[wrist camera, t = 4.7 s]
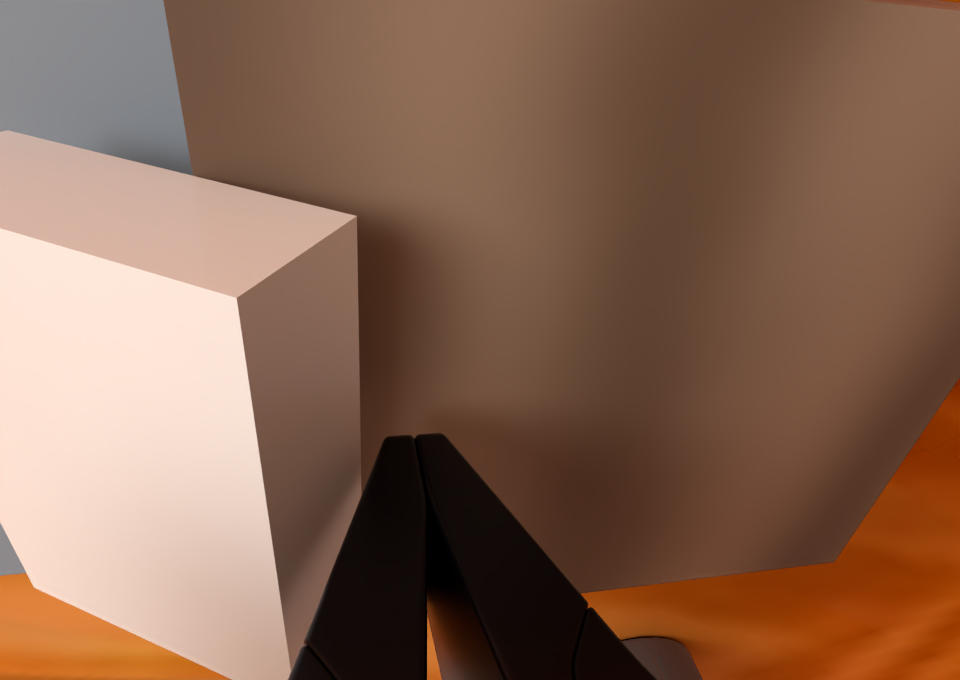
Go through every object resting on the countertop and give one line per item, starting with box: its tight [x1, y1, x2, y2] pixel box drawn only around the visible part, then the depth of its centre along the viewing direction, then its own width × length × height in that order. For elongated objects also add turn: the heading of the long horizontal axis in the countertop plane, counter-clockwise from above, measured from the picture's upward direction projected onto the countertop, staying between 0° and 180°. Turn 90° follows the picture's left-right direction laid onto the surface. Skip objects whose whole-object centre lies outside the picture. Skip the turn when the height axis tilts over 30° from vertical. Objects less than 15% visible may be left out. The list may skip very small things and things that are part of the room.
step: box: [163, 0, 960, 593], centre depth 12 cm, size 14×12×3 cm
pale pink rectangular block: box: [0, 130, 361, 680], centre depth 8 cm, size 5×7×2 cm
